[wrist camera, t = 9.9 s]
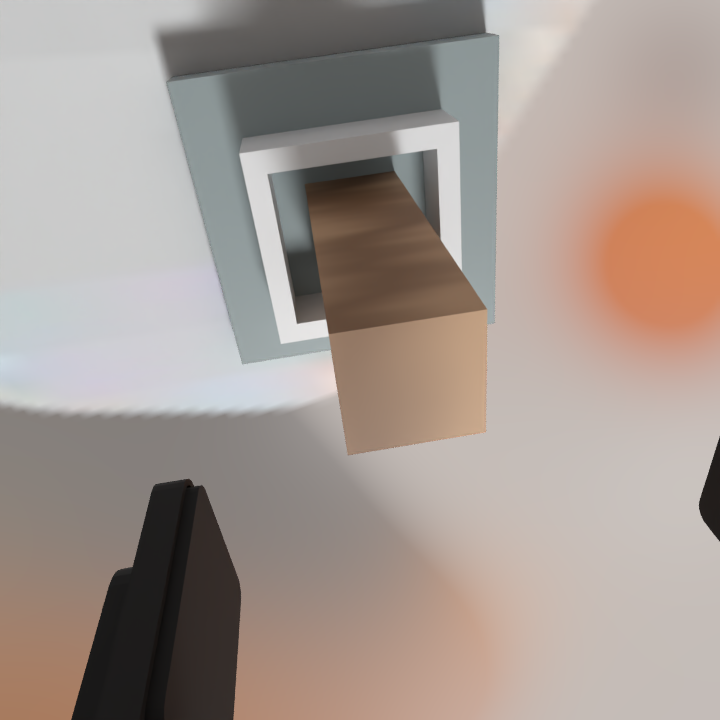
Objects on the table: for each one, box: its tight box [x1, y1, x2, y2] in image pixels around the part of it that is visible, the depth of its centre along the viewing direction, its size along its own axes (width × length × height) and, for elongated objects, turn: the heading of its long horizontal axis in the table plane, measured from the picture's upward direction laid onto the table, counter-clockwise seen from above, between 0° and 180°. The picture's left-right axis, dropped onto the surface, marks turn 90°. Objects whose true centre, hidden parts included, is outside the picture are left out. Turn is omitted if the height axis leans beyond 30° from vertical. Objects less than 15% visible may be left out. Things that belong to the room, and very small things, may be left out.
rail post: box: [305, 171, 487, 455], centre depth 19 cm, size 4×4×12 cm
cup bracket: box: [166, 33, 499, 364], centre depth 24 cm, size 12×12×4 cm
